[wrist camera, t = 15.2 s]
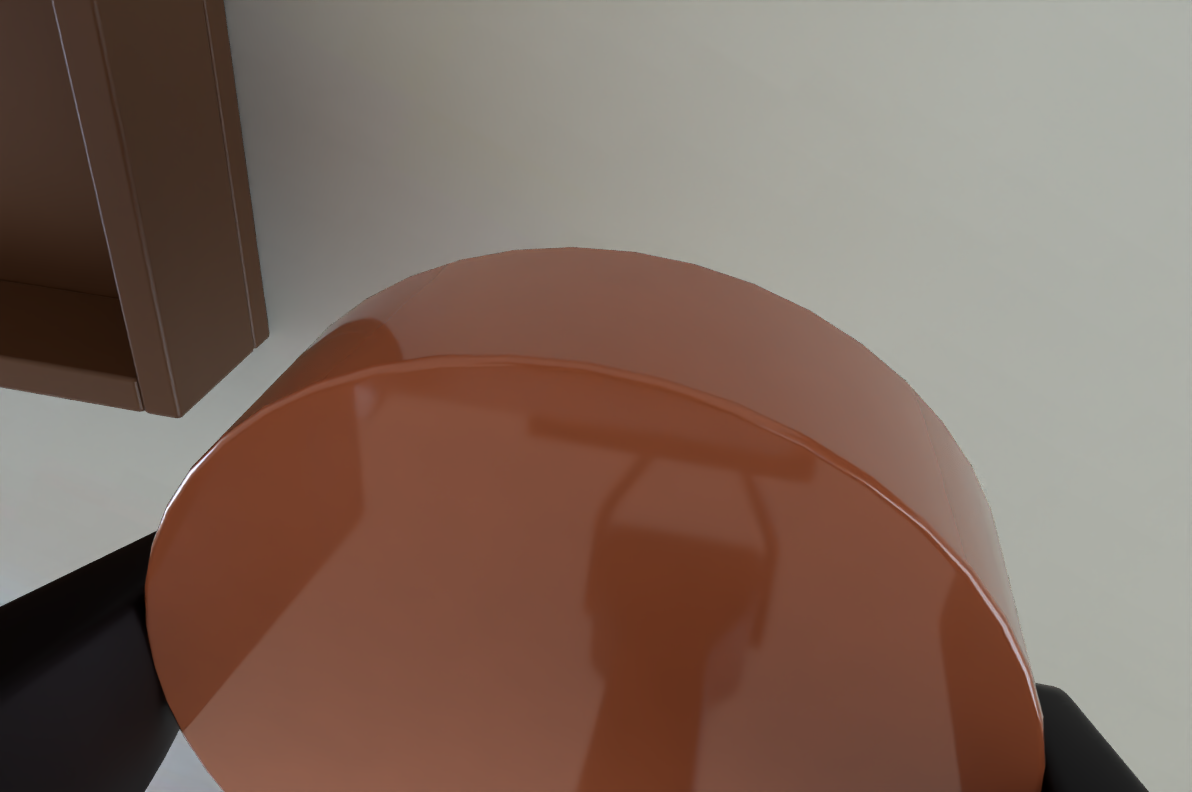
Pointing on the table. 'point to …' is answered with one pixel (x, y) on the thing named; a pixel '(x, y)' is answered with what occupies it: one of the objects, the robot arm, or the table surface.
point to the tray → (123, 204)
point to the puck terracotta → (590, 554)
